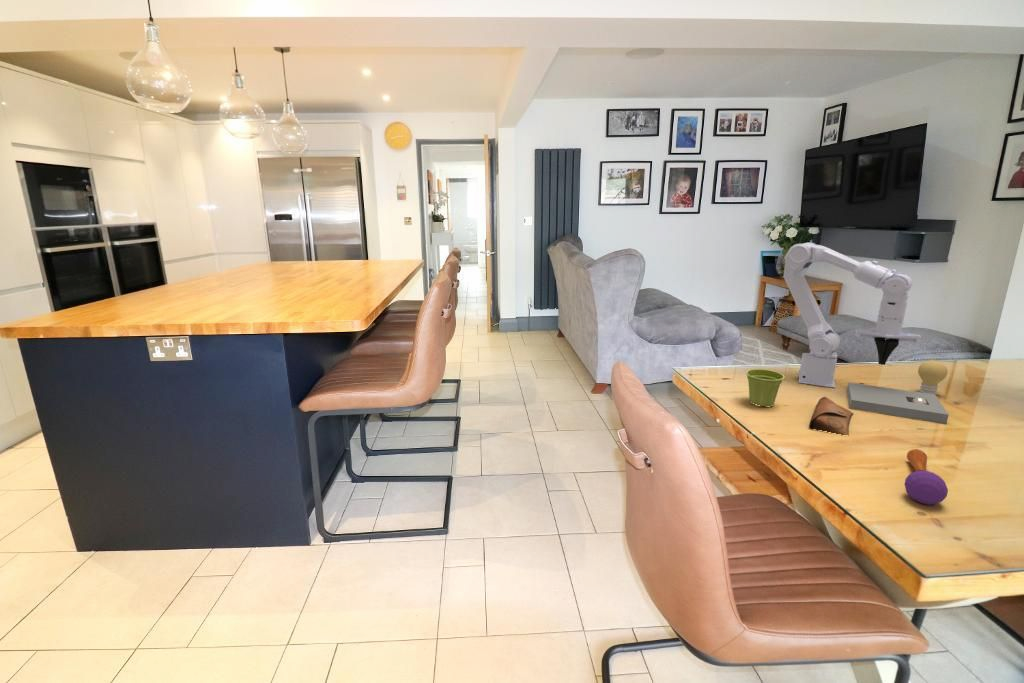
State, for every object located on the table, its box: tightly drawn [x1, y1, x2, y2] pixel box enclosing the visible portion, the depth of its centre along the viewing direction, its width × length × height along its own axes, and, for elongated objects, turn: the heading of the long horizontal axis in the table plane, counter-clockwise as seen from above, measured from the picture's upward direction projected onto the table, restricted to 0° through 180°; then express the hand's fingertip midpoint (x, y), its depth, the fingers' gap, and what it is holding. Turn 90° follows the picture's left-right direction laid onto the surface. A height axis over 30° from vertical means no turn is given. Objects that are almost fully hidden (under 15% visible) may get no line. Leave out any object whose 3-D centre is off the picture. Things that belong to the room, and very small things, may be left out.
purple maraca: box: [904, 448, 949, 505], centre depth 94 cm, size 6×6×20 cm
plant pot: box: [745, 368, 785, 407], centre depth 134 cm, size 9×9×9 cm
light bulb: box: [917, 360, 948, 395], centre depth 139 cm, size 6×6×10 cm
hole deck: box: [846, 382, 949, 425], centre depth 132 cm, size 20×16×2 cm
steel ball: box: [912, 397, 927, 404], centre depth 129 cm, size 3×3×3 cm
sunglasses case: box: [809, 396, 854, 436], centre depth 123 cm, size 18×7×7 cm, turn 143°
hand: (881, 363), depth 138 cm, fingers closed
